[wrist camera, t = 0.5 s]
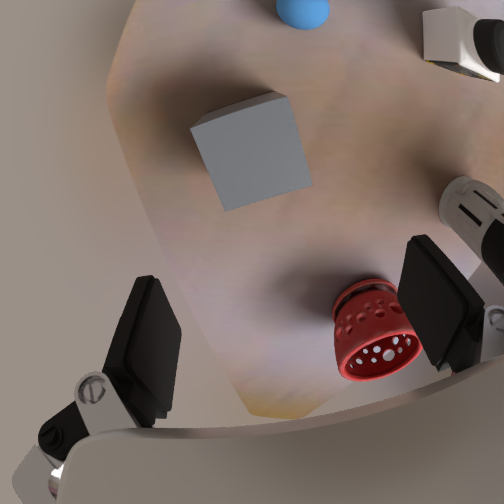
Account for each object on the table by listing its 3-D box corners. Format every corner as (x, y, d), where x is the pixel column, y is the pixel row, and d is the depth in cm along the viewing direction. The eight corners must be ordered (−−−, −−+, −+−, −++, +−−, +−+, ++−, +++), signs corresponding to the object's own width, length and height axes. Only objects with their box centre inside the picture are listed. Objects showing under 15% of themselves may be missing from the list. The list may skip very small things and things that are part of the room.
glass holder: (449, 237, 37) (501, 301, 25) (414, 174, 31) (487, 237, 19) (483, 204, 33) (541, 259, 21) (454, 135, 27) (536, 181, 15)
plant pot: (360, 258, 38) (391, 320, 29) (410, 287, 42) (439, 341, 33) (307, 315, 45) (320, 378, 35) (360, 334, 49) (378, 387, 39)
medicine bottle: (422, 61, 22) (492, 69, 13) (420, 10, 18) (488, 2, 8) (463, 75, 22) (530, 92, 13) (462, 28, 18) (528, 32, 8)
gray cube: (274, 91, 26) (287, 96, 18) (295, 156, 30) (312, 185, 23) (204, 114, 27) (189, 128, 20) (229, 176, 31) (225, 211, 24)
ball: (312, -10, 19) (325, -23, 14) (327, 28, 21) (343, 21, 17) (267, -2, 19) (271, -16, 15) (282, 37, 22) (290, 29, 18)
